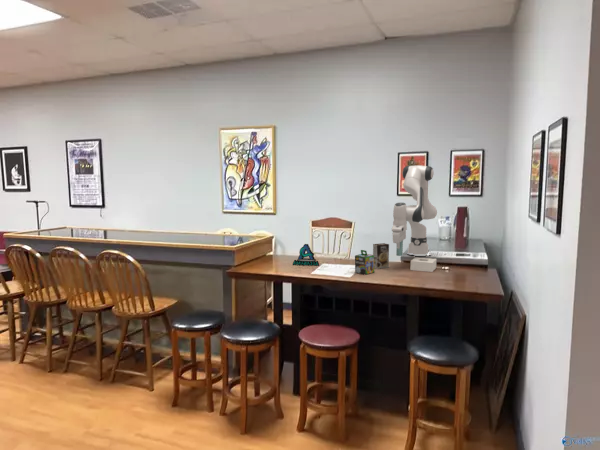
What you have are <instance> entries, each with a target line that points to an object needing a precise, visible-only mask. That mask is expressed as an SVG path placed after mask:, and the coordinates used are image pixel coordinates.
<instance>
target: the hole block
mask: <svg viewBox="0 0 600 450" xmlns="http://www.w3.org/2000/svg"><path fill="white" fill-rule="evenodd" d="M436 268H437V258H430V257H429V258H428V257H415V256H414V258H413V259H411V260H410V268H409V269H410V271H418V272H426V273H427V272H429V273H430V272H431V273H433V272H434V271H435V270H436Z"/></svg>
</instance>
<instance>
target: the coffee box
mask: <svg viewBox="0 0 600 450" xmlns="http://www.w3.org/2000/svg"><path fill="white" fill-rule="evenodd" d="M372 255H374V269H377V270H378V269H386V268H387V269H389V267H390V266H389V265H390V262H389V261H390V244H389V243H385V242H384V243H372Z"/></svg>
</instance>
